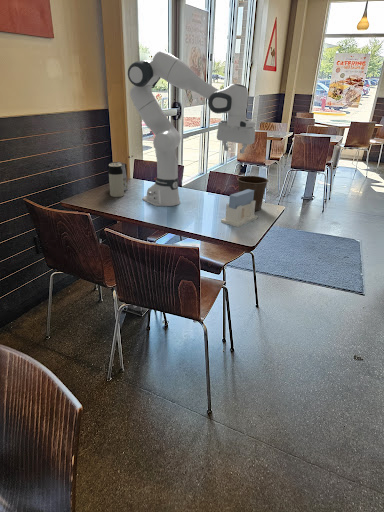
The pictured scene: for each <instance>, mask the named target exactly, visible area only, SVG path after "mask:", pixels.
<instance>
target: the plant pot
mask: <svg viewBox="0 0 384 512" xmlns="http://www.w3.org/2000/svg"><path fill="white" fill-rule="evenodd" d="M236 180H237V184H238V192H241V191H244V190H247V189H250V190H254V198H253V201H254V200H255V201H256V202H255V211H254V212H257V211H261V210H262V206H263V205H262V204H263V200H264V195H265V192H266V191H265V190H266V189H267V184H268V182H269V180H268V179H267V178H265V177H262V176H257V175H244V176H243V175H242V176H238V177H237V179H236Z"/></svg>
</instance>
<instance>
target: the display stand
mask: <svg viewBox="0 0 384 512" xmlns="http://www.w3.org/2000/svg"><path fill="white" fill-rule="evenodd" d="M255 202H256V201H255V200H254V201H251V203H249V204H247V205H244V206H241V205H240V206H238V207H237V208H236V209H233V208H229V202H228V203H226V208H225V217H224V218H222V219H220V222H221V223H223V224H227V225H229V226H232V227H235V228H239V227H241V226H244V225H246V224H248V223H250V222H252V221H255V220H257V219H259V215H255V212H256V211H255Z"/></svg>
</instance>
